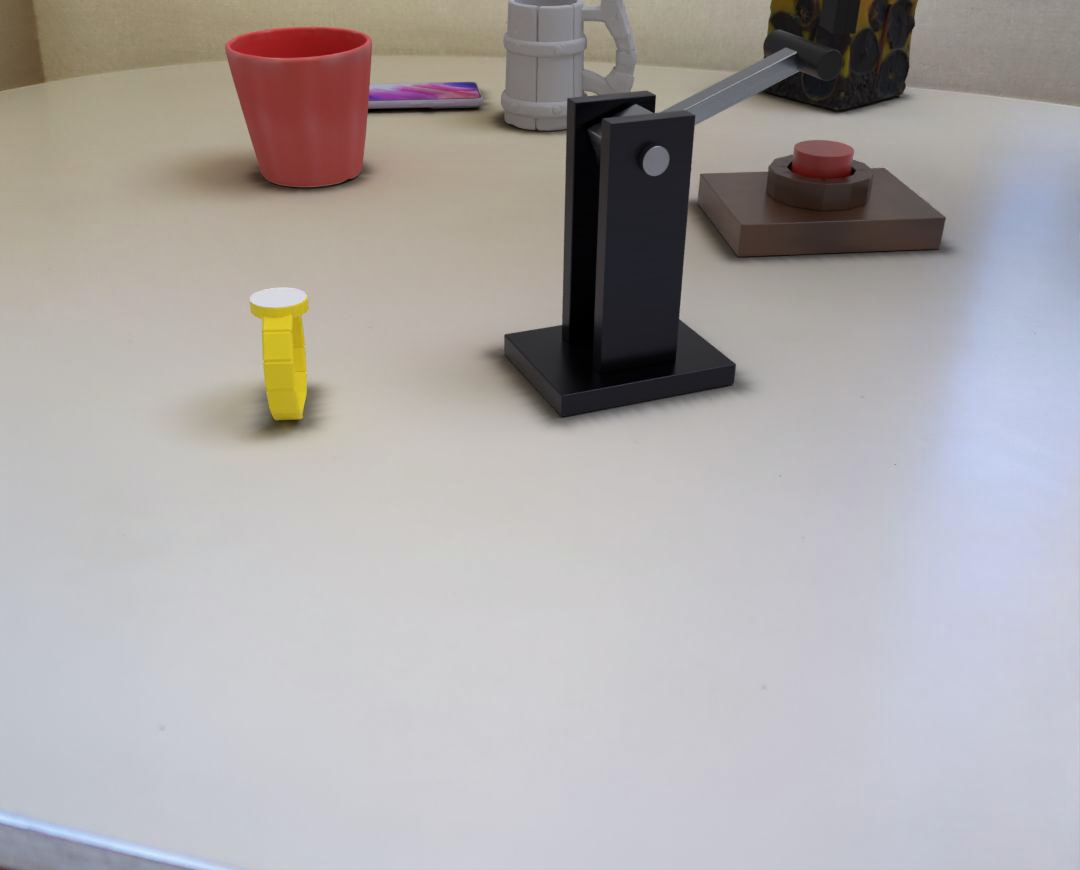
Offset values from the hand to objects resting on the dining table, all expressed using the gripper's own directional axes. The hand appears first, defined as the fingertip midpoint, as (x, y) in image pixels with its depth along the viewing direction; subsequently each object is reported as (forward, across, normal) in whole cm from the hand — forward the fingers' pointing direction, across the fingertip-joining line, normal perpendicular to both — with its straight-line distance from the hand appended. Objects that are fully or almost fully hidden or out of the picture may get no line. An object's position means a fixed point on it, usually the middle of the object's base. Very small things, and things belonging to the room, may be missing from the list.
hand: (837, 29), depth 78 cm
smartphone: (+13, -27, +36) cm, 47 cm away
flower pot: (+13, -35, +16) cm, 40 cm away
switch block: (+13, 0, 0) cm, 13 cm away
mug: (+13, -13, +28) cm, 34 cm away
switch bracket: (+13, -18, -21) cm, 31 cm away
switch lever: (0, -13, -20) cm, 24 cm away
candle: (+13, +14, +36) cm, 40 cm away
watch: (+13, -35, -24) cm, 44 cm away
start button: (+9, 0, 0) cm, 9 cm away
